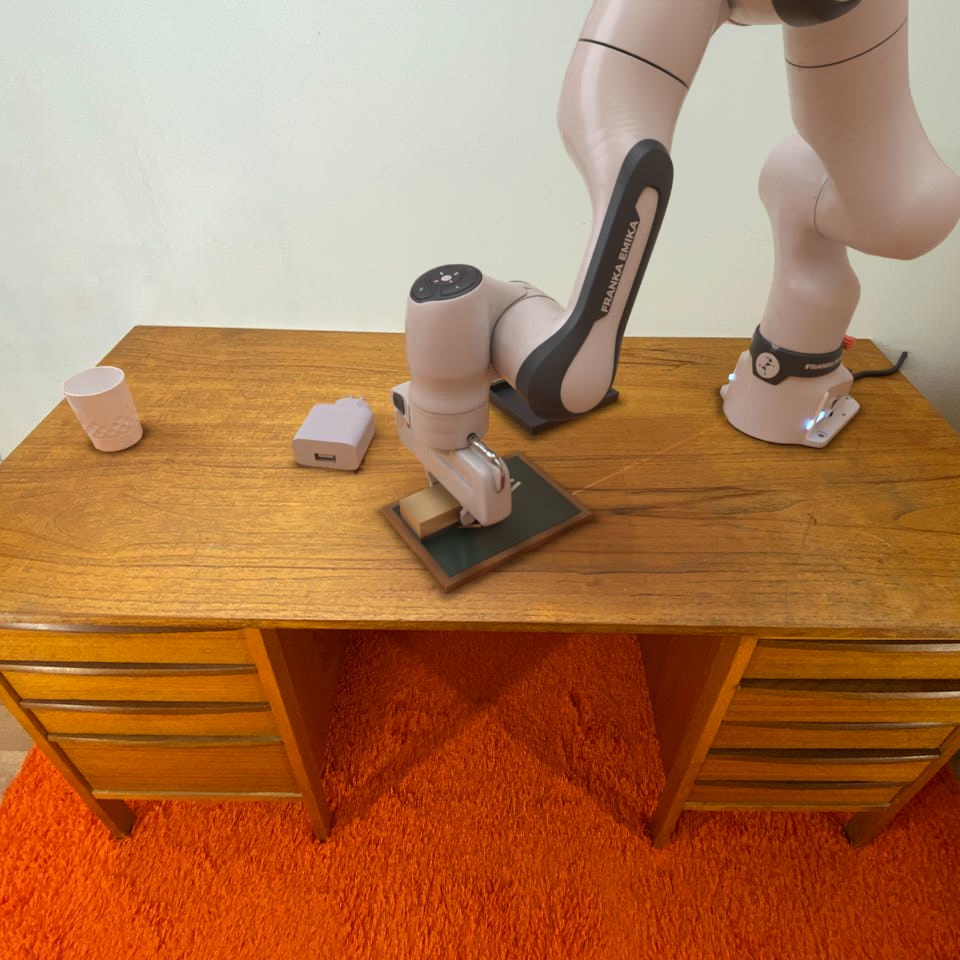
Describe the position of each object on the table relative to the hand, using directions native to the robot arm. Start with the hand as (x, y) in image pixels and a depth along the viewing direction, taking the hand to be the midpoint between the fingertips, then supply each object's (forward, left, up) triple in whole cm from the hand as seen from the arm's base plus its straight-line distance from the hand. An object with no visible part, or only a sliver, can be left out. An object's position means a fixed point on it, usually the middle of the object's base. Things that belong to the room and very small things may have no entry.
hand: (451, 506), depth 80 cm
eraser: (0, 0, -1) cm, 1 cm away
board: (-4, +2, -2) cm, 5 cm away
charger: (+4, -24, -3) cm, 25 cm away
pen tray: (-28, -15, -2) cm, 32 cm away
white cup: (+32, -42, -3) cm, 53 cm away
